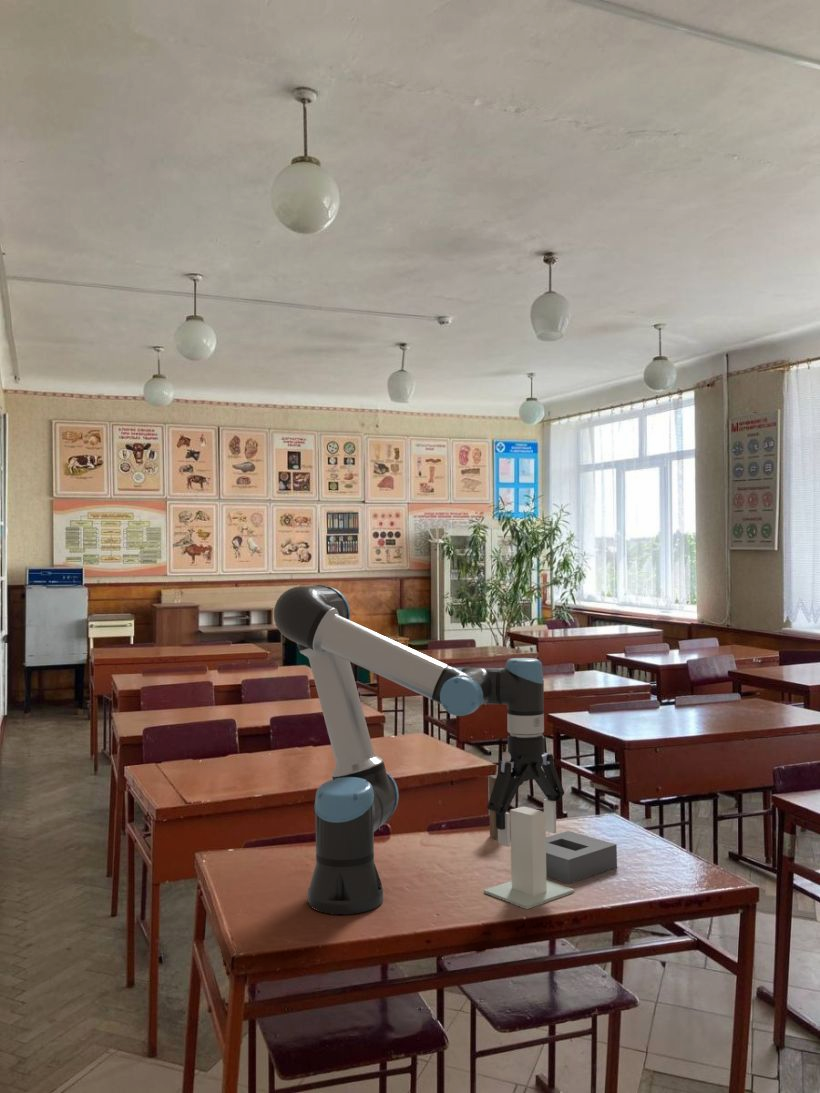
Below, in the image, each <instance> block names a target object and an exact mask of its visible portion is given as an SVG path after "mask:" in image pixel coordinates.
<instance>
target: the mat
mask: <svg viewBox="0 0 820 1093" xmlns="http://www.w3.org/2000/svg"><path fill="white" fill-rule="evenodd" d="M546 881H547V891H546V892H543V893H540V894H538V895H535V896H532V895H529V894H526V893H524V892H521V891H518V890H515V889H513V888H512V880H510V881H507V882H504V883H502V884H497V885H495V886H492V887H489V888H485V889H484V890H483V893H484V894H486V895H488V896H491V897H494V898H496V899H499V900H501V899H502V900H501V901H504V900H505V901H504V902H506V901H507V903H509V902H510V904H512V905H515V906H517V907H519V906H520V908H523V909H525V910H530V909H531V908H534V906H535V907H538V906H540V905H543V904H546V903H549V902H551V901H553V900H557V899H560V898H562V897H565V896H567V895H570V894H573V893H575V889H574V888H571V887H570V886H569V887H568V886H566V885H563V884H561V883H557V882H554V881H550V880H548V879H546Z"/></svg>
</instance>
